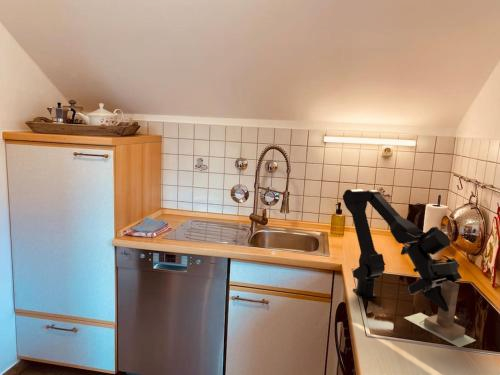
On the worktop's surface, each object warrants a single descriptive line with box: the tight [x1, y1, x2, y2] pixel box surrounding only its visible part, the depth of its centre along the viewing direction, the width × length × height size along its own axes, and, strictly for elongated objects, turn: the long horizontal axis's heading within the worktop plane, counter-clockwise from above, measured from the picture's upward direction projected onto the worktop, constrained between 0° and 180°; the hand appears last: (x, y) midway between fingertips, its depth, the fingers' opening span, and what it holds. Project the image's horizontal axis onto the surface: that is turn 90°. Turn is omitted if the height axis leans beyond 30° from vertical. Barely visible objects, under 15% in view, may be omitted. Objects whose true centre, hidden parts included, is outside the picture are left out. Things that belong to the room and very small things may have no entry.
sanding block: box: [424, 281, 466, 341], centre depth 113 cm, size 9×6×15 cm, turn 31°
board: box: [404, 312, 477, 348], centre depth 115 cm, size 18×8×1 cm, turn 31°
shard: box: [366, 300, 387, 318], centre depth 126 cm, size 11×8×2 cm
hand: (450, 310), depth 112 cm, fingers closed on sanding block, 3 cm apart
